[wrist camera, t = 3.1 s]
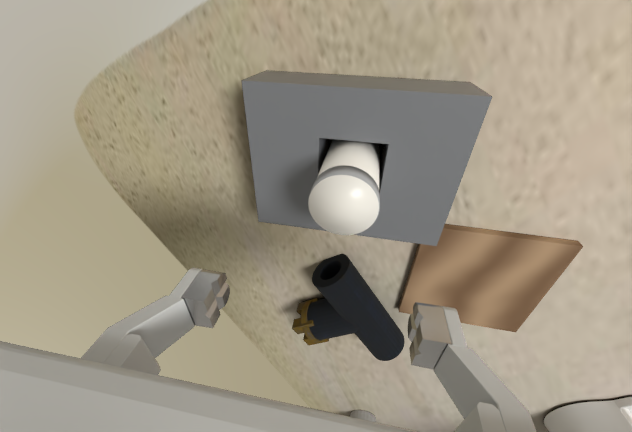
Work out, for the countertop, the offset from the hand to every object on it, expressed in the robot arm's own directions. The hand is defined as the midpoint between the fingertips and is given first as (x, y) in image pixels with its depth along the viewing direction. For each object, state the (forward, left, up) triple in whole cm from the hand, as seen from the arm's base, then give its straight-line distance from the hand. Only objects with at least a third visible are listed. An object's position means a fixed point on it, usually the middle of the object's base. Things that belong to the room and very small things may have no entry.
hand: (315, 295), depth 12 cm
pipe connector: (-1, +22, -17) cm, 28 cm away
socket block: (0, 0, -17) cm, 17 cm away
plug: (0, 0, -17) cm, 17 cm away
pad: (-15, +14, -17) cm, 27 cm away
